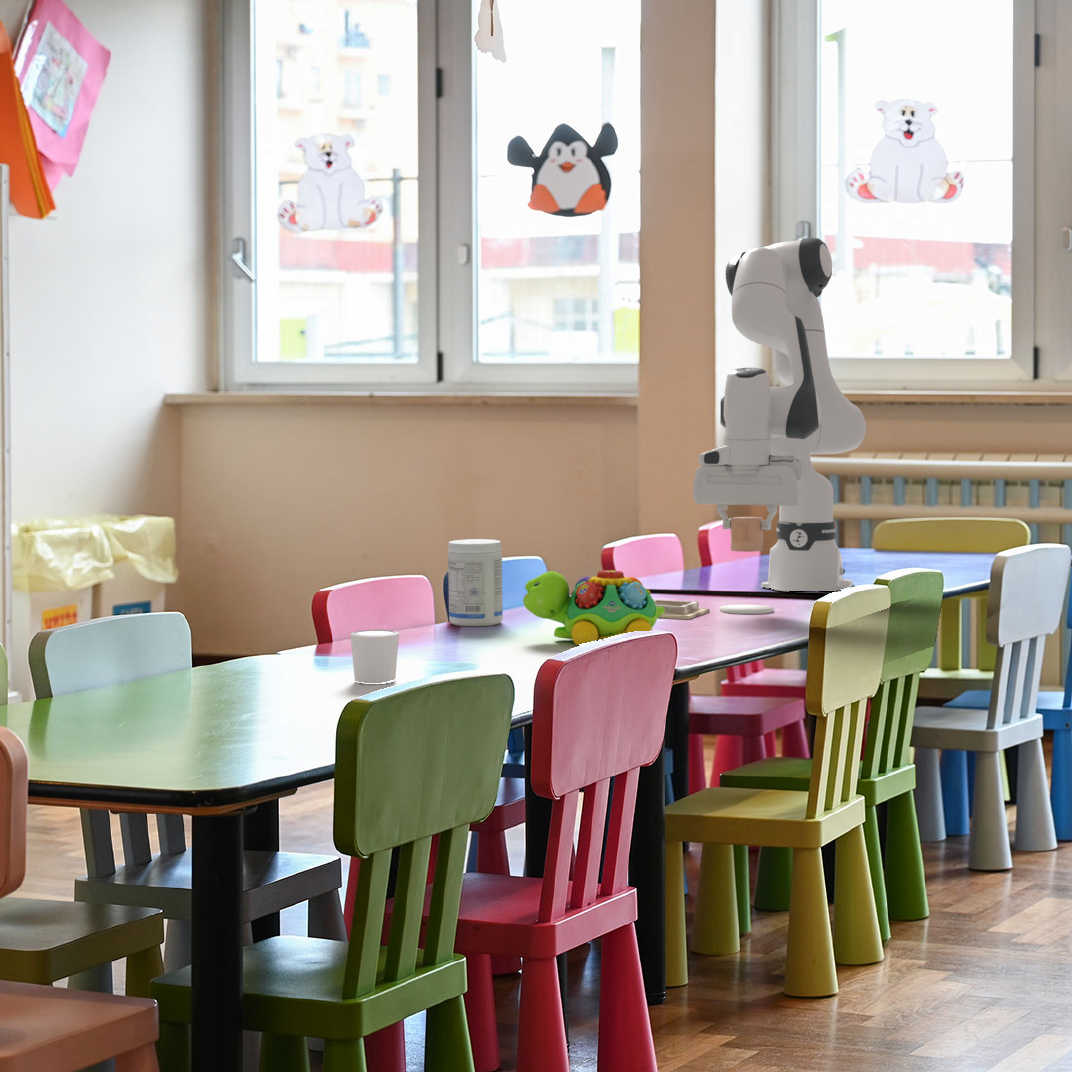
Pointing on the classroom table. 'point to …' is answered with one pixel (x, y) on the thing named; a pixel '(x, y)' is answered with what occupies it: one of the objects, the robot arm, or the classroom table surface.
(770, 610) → the coaster
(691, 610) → the jug stand
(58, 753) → the classroom table surface
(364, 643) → the white cup
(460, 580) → the supplement tub
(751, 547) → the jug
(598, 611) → the turtle toy
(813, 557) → the robot arm
